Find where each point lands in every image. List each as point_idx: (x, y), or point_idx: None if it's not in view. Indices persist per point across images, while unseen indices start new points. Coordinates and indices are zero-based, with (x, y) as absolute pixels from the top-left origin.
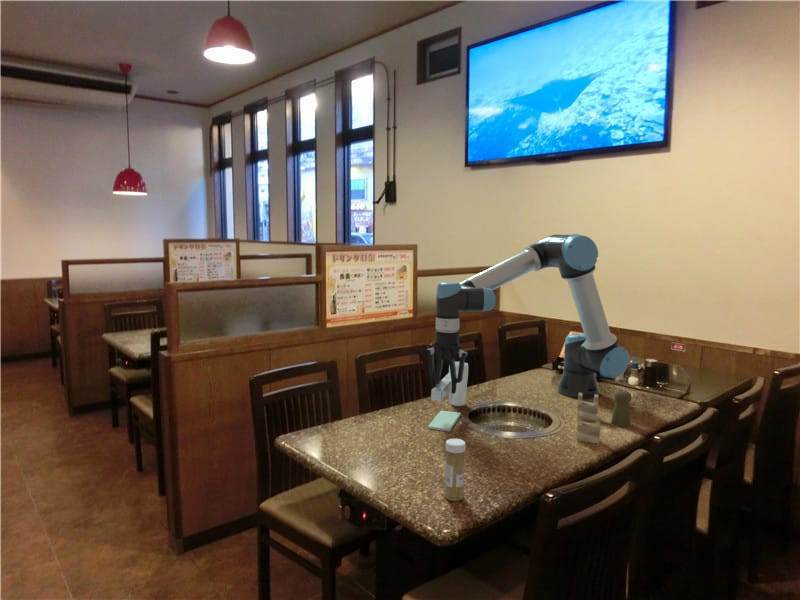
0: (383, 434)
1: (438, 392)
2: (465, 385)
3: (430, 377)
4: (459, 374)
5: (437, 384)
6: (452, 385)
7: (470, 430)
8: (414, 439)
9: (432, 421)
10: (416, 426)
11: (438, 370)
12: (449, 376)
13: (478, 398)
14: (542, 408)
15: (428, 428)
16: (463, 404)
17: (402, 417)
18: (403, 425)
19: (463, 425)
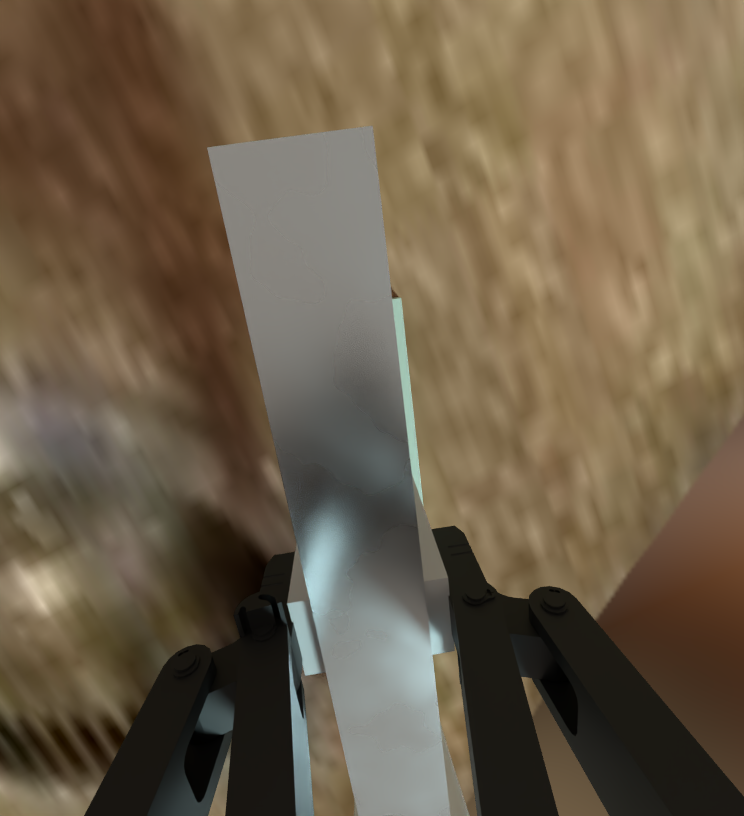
0: (619, 53)
1: (253, 147)
2: (355, 807)
3: (564, 602)
4: (147, 760)
5: (406, 465)
6: (287, 607)
7: (171, 393)
8: (405, 68)
9: (406, 384)
10: (473, 298)
11: (499, 732)
12: (401, 777)
13: (335, 784)
14: (21, 811)
15: (395, 297)
16: None
17: (593, 392)
18: (549, 275)
19: (241, 444)
